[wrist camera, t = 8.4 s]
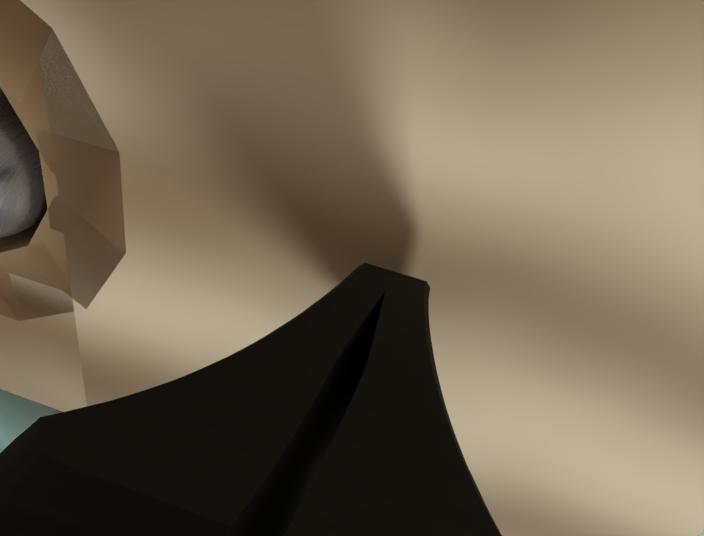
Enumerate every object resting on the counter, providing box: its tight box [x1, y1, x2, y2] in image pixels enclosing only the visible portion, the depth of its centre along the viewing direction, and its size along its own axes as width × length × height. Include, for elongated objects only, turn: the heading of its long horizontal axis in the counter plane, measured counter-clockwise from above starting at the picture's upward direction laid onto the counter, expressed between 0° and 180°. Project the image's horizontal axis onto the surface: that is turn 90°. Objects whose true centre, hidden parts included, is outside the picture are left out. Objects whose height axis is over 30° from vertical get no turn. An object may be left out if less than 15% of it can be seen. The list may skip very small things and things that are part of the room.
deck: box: [0, 0, 704, 536], centre depth 14 cm, size 16×26×2 cm, turn 80°
